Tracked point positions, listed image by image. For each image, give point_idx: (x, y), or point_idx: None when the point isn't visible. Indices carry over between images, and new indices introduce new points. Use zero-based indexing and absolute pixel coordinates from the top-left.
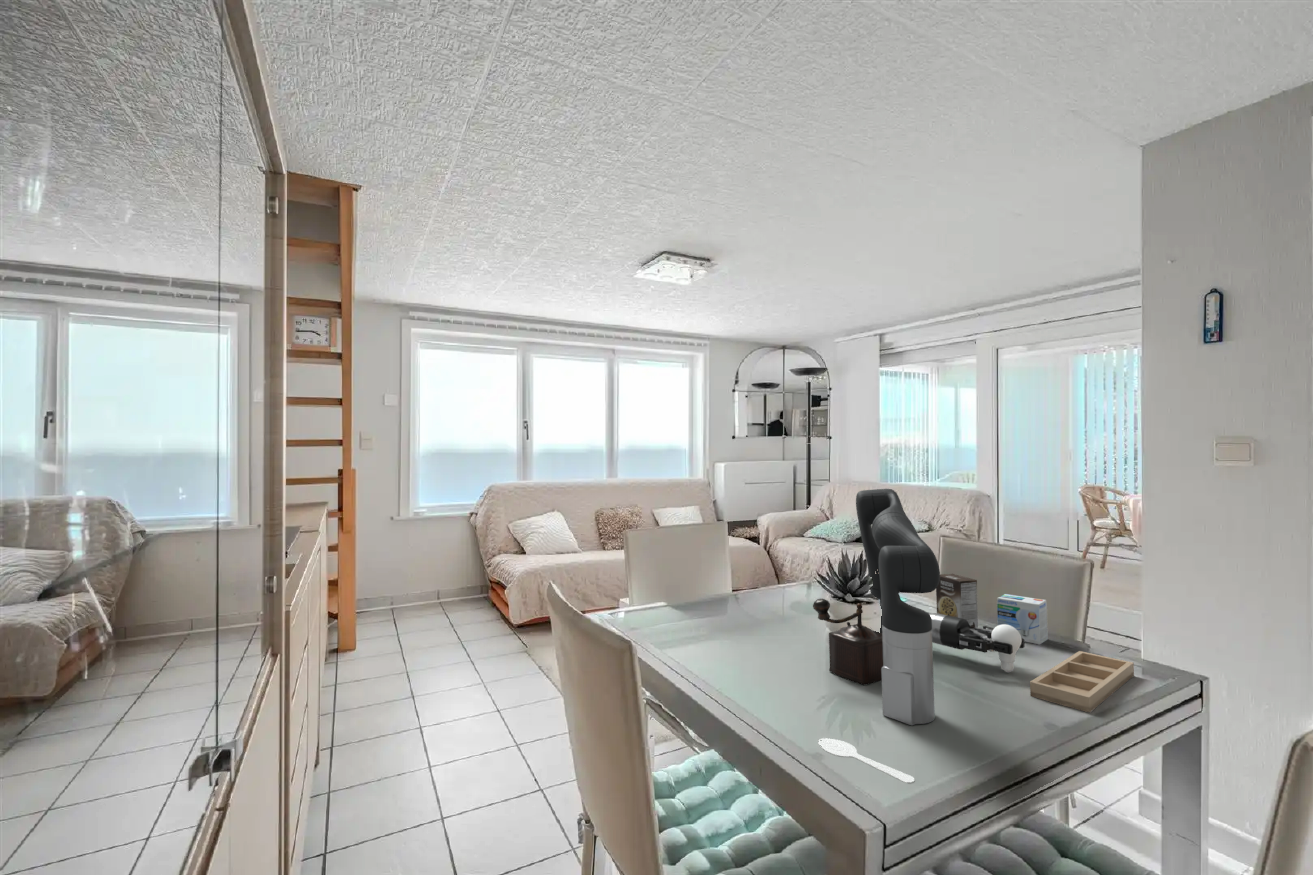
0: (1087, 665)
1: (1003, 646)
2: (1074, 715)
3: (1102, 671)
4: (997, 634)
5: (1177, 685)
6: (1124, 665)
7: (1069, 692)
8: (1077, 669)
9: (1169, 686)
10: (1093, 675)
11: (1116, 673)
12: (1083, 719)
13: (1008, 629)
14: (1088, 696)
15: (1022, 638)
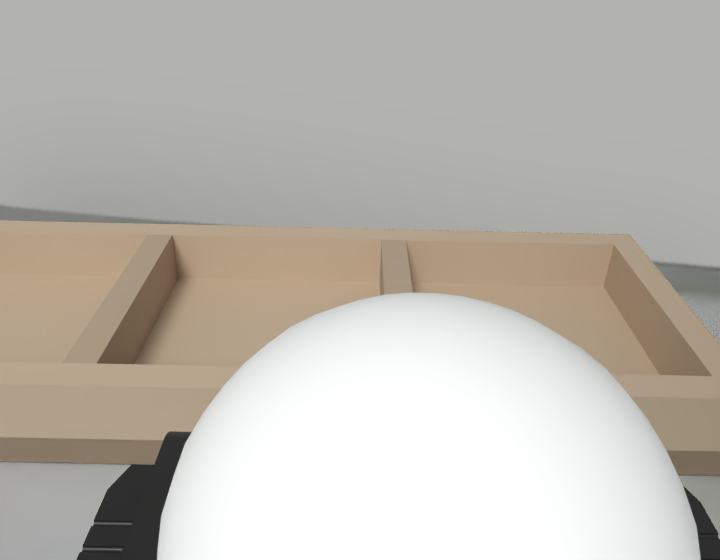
0: (111, 300)
1: (708, 521)
2: (707, 316)
3: (158, 266)
4: (697, 539)
5: (20, 212)
6: (5, 229)
7: (660, 275)
8: (121, 360)
9: (48, 220)
10: (150, 321)
11: (180, 229)
12: (705, 295)
13: (539, 327)
14: (620, 237)
15: (174, 436)
